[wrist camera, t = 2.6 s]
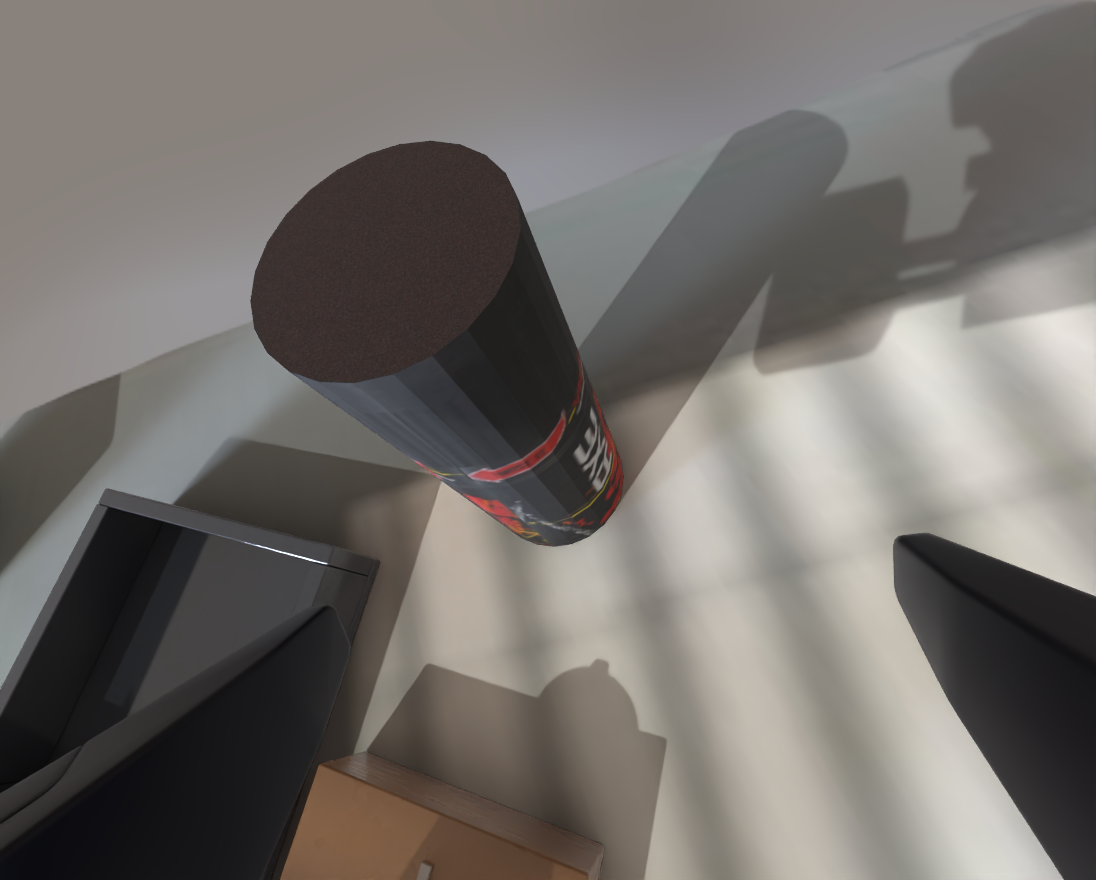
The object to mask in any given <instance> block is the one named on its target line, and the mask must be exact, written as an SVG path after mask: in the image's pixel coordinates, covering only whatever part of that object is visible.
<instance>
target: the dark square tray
mask: <svg viewBox="0 0 1096 880" xmlns="http://www.w3.org/2000/svg"><path fill="white" fill-rule="evenodd" d="M379 563H380V561H379V560H377V559H373V558H371V557H367V556H364V555H361V554H358V553H355V552H352V551H349V550H346V549H343V548H340V547H337V546H334V545H330V544H326V543H322V542H318V541H314V540H310V539H306V538H302V537H298V536H294V535H290V534H286V533H282V532H278V531H274V530H270V529H266V528H262V527H258V526H254V525H250V524H247V523H243V522H239V521H235V520H231V519H227V518H223V517H219V516H215V515H211V514H207V513H203V512H199V511H195V510H191V509H187V508H183V507H179V506H175V505H171V504H167V503H163V502H159V501H155V500H151V499H147V498H143V497H139V496H135V495H132V494H128V493H124V492H120V491H116V490H112V489H105V491H104V493H103V495H102V496H101V498H100V500H99V504H97V505H96V507H95V509H94V511H93V513H92V515H91V517H90V519H89V521H88V522H87V524H86V526H85V528H84V530H83V532H82V534H81V536H80V538H79V540H78V542H77V544H76V545H75V547H74V549H73V551H72V553H71V555H70V557H69V559H68V561H67V563H66V565H65V566H64V568H63V570H62V572H61V574H60V576H59V578H58V580H57V582H56V584H55V586H54V588H53V589H52V591H51V593H50V595H49V597H48V599H47V601H46V603H45V605H44V607H43V609H42V610H41V612H40V614H39V616H38V618H37V620H36V622H35V624H34V626H33V628H32V630H31V632H30V633H29V635H28V637H27V639H26V641H25V643H24V645H23V647H22V649H21V651H20V653H19V655H18V656H17V658H16V660H15V662H14V664H13V666H12V668H11V670H10V672H9V674H8V676H7V677H6V679H5V681H4V683H3V685H2V687H1V689H0V793H2V792H4V791H5V790H7V789H9V788H11V787H12V786H14V785H16V784H17V783H19V782H21V781H22V780H24V779H26V778H27V777H29V776H31V775H32V774H34V773H36V772H37V771H39V770H41V769H42V768H44V767H46V766H47V765H49V764H51V763H53V762H54V761H56V760H57V759H59V758H61V757H62V756H64V755H66V754H67V753H69V752H71V751H72V750H74V749H76V748H77V747H79V746H84V744H85V743H86V742H87V741H89V740H91V739H92V738H94V737H96V736H97V735H99V734H100V733H102V732H104V731H105V730H107V729H109V728H110V727H112V726H114V725H115V724H117V723H119V722H120V721H122V720H124V719H125V718H127V717H128V716H130V715H132V714H133V713H135V712H137V711H138V710H140V709H142V708H143V707H145V706H147V705H148V704H150V703H152V702H153V701H155V700H156V699H158V698H160V697H161V696H163V695H165V694H166V693H168V692H170V691H171V690H173V689H175V688H176V687H178V686H180V685H181V684H183V683H184V682H186V681H188V680H189V679H191V678H193V677H194V676H196V675H198V674H199V673H201V672H203V671H204V670H206V669H208V668H209V667H211V666H212V665H214V664H216V663H217V662H219V661H221V660H222V659H224V658H226V657H227V656H229V655H231V654H232V653H234V652H236V651H237V650H239V649H240V648H242V647H244V646H245V645H247V644H249V643H250V642H252V641H254V640H255V639H257V638H259V637H260V636H262V635H264V634H265V633H267V632H268V631H270V630H272V629H273V628H275V627H277V626H278V625H280V624H282V623H283V622H285V621H287V620H288V619H290V618H292V617H293V616H295V615H296V614H298V613H300V612H301V611H303V610H305V609H307V608H309V607H316V606H324V605H329V606H332V607H333V608H334V609H335V610H336V612H337V614H338V616H339V618H340V621H341V623H342V625H343V627H344V630H345V632H346V634H347V637H348V639H349V642H350V647H351V644H352V641H353V638H354V635H355V633H356V630H357V627H358V624H359V621H360V618H361V615H362V612H363V609H364V606H365V604H366V601H367V598H368V595H369V592H370V589H371V586H372V583H373V580H374V577H375V575H376V572H377V569H378V566H379ZM302 786H303V785H302ZM301 789H302V787H301ZM300 792H301V790H300ZM300 792H299V794H298V796H297V799H296V801H295V803H294V806H293V808H292V810H291V812H290V815H289V817H288V819H287V822H286V824H285V826H284V829H283V831H282V833H281V835H280V838H279V840H278V842H277V845H276V847H275V849H274V851H273V854H272V856H271V858H270V861H269V863H268V865H267V867H266V870H265V872H264V874H263V877H262V879H261V880H270V879H271V876H272V873H273V870H274V867H275V864H276V862H277V859H278V856H279V853H280V850H281V847H282V844H283V841H284V838H285V835H286V833H287V830H288V827H289V824H290V821H291V818H292V815H293V812H294V809H295V806H296V804H297V801H298V798H299V795H300Z"/></svg>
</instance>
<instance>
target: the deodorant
mask: <svg viewBox="0 0 1096 880" xmlns="http://www.w3.org/2000/svg"><path fill="white" fill-rule="evenodd" d="M251 308H252V315H253V323H254V329H255V331H256V333H257V335H258V337H259V339H260V340H261V342H262V344H263V346H264V348H265V350H266V351H267V353H268V354H269V355H270V356H272V357H273V358H274V359H275V360H276V361H277V362H279V363H280V364H281V365H282V366H283V367H284V368H286V369H287V370H288V371H289V372H291V373H292V374H293V375H295V376H296V377H298V378H299V379H300V380H302V381H303V382H305V383H306V384H307V385H309V386H310V387H312V388H313V389H314V390H316V391H317V392H318V393H320V394H321V395H323V396H324V397H325V398H327V399H328V400H330V401H331V402H332V403H334V404H335V405H337V406H338V407H339V408H341V409H342V410H344V411H345V412H346V413H348V414H349V415H351V416H352V417H353V418H355V419H356V420H358V421H359V422H360V423H362V424H363V425H365V426H366V427H367V428H369V429H370V430H372V431H373V432H374V433H376V434H377V435H379V436H380V437H381V438H383V439H384V440H386V441H387V442H388V443H390V444H391V445H393V446H394V447H395V448H397V449H398V450H399V451H401V452H402V453H404V454H405V455H406V456H408V457H409V458H411V459H412V460H413V461H415V462H416V463H418V464H419V465H420V466H422V467H423V468H425V469H426V470H427V471H429V472H430V473H432V474H433V475H434V476H436V477H437V478H439V479H440V480H441V481H443V482H444V483H446V484H447V485H448V486H450V487H451V488H453V489H454V490H455V491H457V492H458V493H460V494H461V495H462V496H464V497H465V498H467V499H468V500H469V501H471V502H472V503H473V504H475V505H476V506H478V507H479V508H480V509H482V510H483V511H485V512H486V513H487V514H489V515H490V516H492V517H493V518H494V519H496V520H497V521H499V522H500V523H501V524H503V525H504V526H506V527H507V528H508V529H510V530H511V531H513V532H514V533H515V534H517V535H518V536H520V537H521V538H523V539H525V540H528V541H530V542H533V543H535V544H538V545H546V546H561V545H568V544H573V543H575V542H577V541H580V540H582V539H584V538H587V537H589V536H590V535H591V534H593V533H594V532H595V531H597V530H598V529H599V528H600V527H602V526H603V525H604V524H605V522H606V521H607V520H608V518H609V517H610V516H611V514H612V513H613V512H614V511H615V508H616V506H617V503H618V501H619V498H620V496H621V492H622V484H623V471H622V464H621V459H620V457H619V454H618V452H617V449H616V447H615V444H614V441H613V439H612V436H611V434H610V431H609V429H608V426H607V424H606V421H605V419H604V416H603V413H602V411H601V408H600V406H599V403H598V401H597V398H596V396H595V393H594V391H593V388H592V385H591V383H590V380H589V378H588V375H587V373H586V370H585V368H584V365H583V363H582V360H581V357H580V355H579V352H578V350H577V347H576V345H575V342H574V340H573V337H572V335H571V332H570V330H569V327H568V324H567V322H566V319H565V317H564V314H563V312H562V309H561V307H560V304H559V302H558V299H557V296H556V294H555V291H554V289H553V286H552V284H551V281H550V279H549V276H548V274H547V271H546V268H545V266H544V263H543V261H542V258H541V256H540V253H539V251H538V248H537V246H536V243H535V241H534V238H533V235H532V233H531V230H530V228H529V225H528V223H527V220H526V218H525V215H524V213H523V210H522V208H521V205H520V202H519V200H518V198H517V196H516V193H515V191H514V189H513V187H512V185H511V183H510V181H509V179H508V177H507V175H506V173H505V172H503V170H501V169H500V168H499V167H498V166H497V165H496V164H495V163H494V162H493V161H492V160H490V159H489V158H488V157H487V156H486V155H484V154H482V153H479V152H477V151H475V150H472V149H470V148H467V147H465V146H462V145H460V144H452V143H444V142H436V141H425V142H416V143H408V144H399V145H396V146H392V147H389V148H386V149H383V150H380V151H376V152H373V153H370V154H367V155H365V156H363V157H361V158H359V159H358V160H356V161H354V162H352V163H350V164H348V165H346V166H344V167H342V168H340V169H338V170H337V171H335V172H334V173H332V174H331V175H330V176H329V177H327V178H326V179H324V180H323V181H322V182H320V183H319V184H318V185H316V186H315V187H314V188H312V189H311V190H310V191H309V192H308V193H307V194H306V195H305V196H304V197H303V198H302V199H301V200H300V201H299V202H298V203H297V204H296V205H295V206H294V207H293V208H292V209H291V210H290V211H289V212H288V213H287V214H286V216H285V217H284V218H283V220H282V222H281V223H280V224H279V226H278V227H277V229H276V230H275V232H274V233H273V235H272V236H271V238H270V239H269V241H268V242H267V245H266V247H265V249H264V252H263V254H262V257H261V259H260V261H259V264H258V266H257V268H256V271H255V276H254V283H253V289H252V295H251Z"/></svg>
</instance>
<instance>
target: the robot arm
mask: <svg viewBox="0 0 1096 880" xmlns="http://www.w3.org/2000/svg"><path fill="white" fill-rule="evenodd" d="M893 561H894V587H895V592H896V596H897V599H898V601H899V603H900V605H901V607H902V609H903V611H904V613H905V615H906V617H907V619H908V621H909V623H910V625H911V627H912V629H913V631H914V633H915V635H916V637H917V639H918V641H919V643H920V645H921V647H922V649H923V651H924V653H925V655H926V657H927V659H928V661H929V663H930V665H931V667H932V669H933V671H934V673H935V675H936V677H937V679H938V681H939V683H940V685H941V687H942V689H943V691H944V693H945V695H946V697H947V698H948V700H949V702H950V704H951V705H952V707H953V708H954V710H955V712H956V713H957V715H958V717H959V718H960V720H961V721H962V723H963V724H964V726H965V727H966V729H967V731H968V732H969V734H970V735H971V737H972V738H973V740H974V741H975V743H976V745H977V746H978V748H979V749H980V751H981V752H982V754H983V755H984V757H985V758H986V760H987V762H988V763H989V765H990V766H991V768H992V769H993V771H994V772H995V774H996V775H997V777H998V779H999V780H1000V782H1001V783H1002V785H1003V786H1004V788H1005V789H1006V791H1007V792H1008V794H1009V796H1010V797H1011V799H1012V800H1013V802H1014V803H1015V805H1016V806H1017V808H1018V809H1019V811H1020V813H1021V814H1022V816H1023V817H1024V819H1025V820H1026V822H1027V823H1028V825H1029V826H1030V828H1031V830H1032V831H1033V833H1034V834H1035V836H1036V837H1037V839H1038V840H1039V842H1040V843H1041V845H1042V847H1043V848H1044V850H1045V851H1046V853H1047V854H1048V856H1049V857H1050V859H1051V860H1052V862H1053V864H1054V865H1055V867H1056V868H1057V870H1058V871H1059V873H1060V874H1061V876H1062V877H1063V879H1064V880H1096V596H1093V595H1090V594H1088V593H1085V592H1083V591H1080V590H1077V589H1075V588H1072V587H1069V586H1067V585H1064V584H1062V583H1059V582H1056V581H1054V580H1051V579H1048V578H1046V577H1043V576H1041V575H1038V574H1035V573H1033V572H1030V571H1027V570H1025V569H1022V568H1020V567H1017V566H1014V565H1012V564H1009V563H1006V562H1004V561H1001V560H999V559H996V558H993V557H991V556H988V555H985V554H983V553H980V552H978V551H975V550H972V549H970V548H967V547H964V546H962V545H959V544H957V543H954V542H951V541H949V540H946V539H943V538H941V537H938V536H935V535H933V534H930V533H917V534H909V535H902V536H898V537H897V538H896V539H895V540H894V544H893ZM350 651H351V649H350V642H349V639H348V637H347V634H346V632H345V630H344V627H343V625H342V623H341V621H340V618H339V616H338V614H337V612H336V610H335V609H334V608H333V607H332V606H329V605H324V606H316V607H309V608H307V609H305V610H303V611H301V612H300V613H298V614H296V615H295V616H293V617H292V618H290V619H288V620H287V621H285V622H283V623H282V624H280V625H278V626H277V627H275V628H273V629H272V630H270V631H268V632H267V633H265V634H264V635H262V636H260V637H259V638H257V639H255V640H254V641H252V642H250V643H249V644H247V645H245V646H244V647H242V648H240V649H239V650H237V651H236V652H234V653H232V654H231V655H229V656H227V657H226V658H224V659H222V660H221V661H219V662H217V663H216V664H214V665H212V666H211V667H209V668H208V669H206V670H204V671H203V672H201V673H199V674H198V675H196V676H194V677H193V678H191V679H189V680H188V681H186V682H184V683H183V684H181V685H180V686H178V687H176V688H175V689H173V690H171V691H170V692H168V693H166V694H165V695H163V696H161V697H160V698H158V699H156V700H155V701H153V702H152V703H150V704H148V705H147V706H145V707H143V708H142V709H140V710H138V711H137V712H135V713H133V714H132V715H130V716H128V717H127V718H125V719H124V720H122V721H120V722H119V723H117V724H115V725H114V726H112V727H110V728H109V729H107V730H105V731H104V732H102V733H100V734H99V735H97V736H96V737H94V738H92V739H91V740H89V741H87V742H86V743H85V744H84V746H79V747H77V748H76V749H74V750H72V751H71V752H69V753H67V754H66V755H64V756H62V757H61V758H59V759H57V760H56V761H54V762H53V763H51V764H49V765H47V766H46V767H44V768H42V769H41V770H39V771H37V772H36V773H34V774H32V775H31V776H29V777H27V778H26V779H24V780H22V781H21V782H19V783H17V784H16V785H14V786H12V787H11V788H9V789H7V790H5V791H4V792H2V793H0V880H261V879H262V877H263V874H264V872H265V870H266V867H267V865H268V863H269V861H270V858H271V856H272V854H273V851H274V849H275V847H276V845H277V842H278V840H279V838H280V835H281V833H282V831H283V829H284V826H285V824H286V822H287V819H288V817H289V815H290V812H291V810H292V808H293V806H294V803H295V801H296V799H297V796H298V794H299V792H300V790H301V787H302V785H303V783H304V780H305V778H306V776H307V774H308V771H309V769H310V767H311V764H312V762H313V760H314V758H315V755H316V753H317V750H318V748H319V745H320V743H321V741H322V738H323V735H324V732H325V729H326V727H327V724H328V721H329V718H330V715H331V712H332V709H333V706H334V703H335V700H336V697H337V694H338V691H339V688H340V685H341V682H342V679H343V676H344V673H345V670H346V667H347V664H348V661H349V657H350Z"/></svg>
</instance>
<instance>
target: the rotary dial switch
mask: <svg viewBox="0 0 1096 880" xmlns="http://www.w3.org/2000/svg"><path fill="white" fill-rule="evenodd" d="M603 853H604V846H603V845H602V844H599V843H597V842H594V841H592V840H589V839H587V838H584V837H582V836H579V835H576V834H574V833H571V832H569V831H566V830H564V829H561V828H559V827H556V826H553V825H551V824H548V823H546V822H543V821H541V820H538V819H536V818H533V817H531V816H528V815H525V814H523V813H520V812H518V811H515V810H513V809H510V808H508V807H505V806H502V805H500V804H497V803H495V802H492V801H490V800H487V799H485V798H482V797H479V796H477V795H474V794H472V793H469V792H467V791H464V790H462V789H459V788H456V787H454V786H451V785H449V784H446V783H444V782H441V781H439V780H436V779H434V778H431V777H428V776H426V775H423V774H421V773H418V772H416V771H413V770H411V769H408V768H405V767H403V766H400V765H398V764H395V763H393V762H390V761H388V760H385V759H382V758H380V757H377V756H375V755H372V754H370V753H367V752H363V753H359V754H355V755H351V756H347V757H343V758H339V759H335V760H331V761H327V762H323V763H320V764H319V766H318V769H317V772H316V775H315V778H314V781H313V784H312V787H311V790H310V792H309V795H308V798H307V801H306V804H305V807H304V810H303V813H302V816H301V819H300V822H299V825H298V828H297V831H296V834H295V837H294V840H293V842H292V845H291V848H290V851H289V854H288V857H287V860H286V863H285V866H284V869H283V872H282V875H281V878H280V880H599V875H600V869H601V864H602V859H603Z"/></svg>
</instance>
